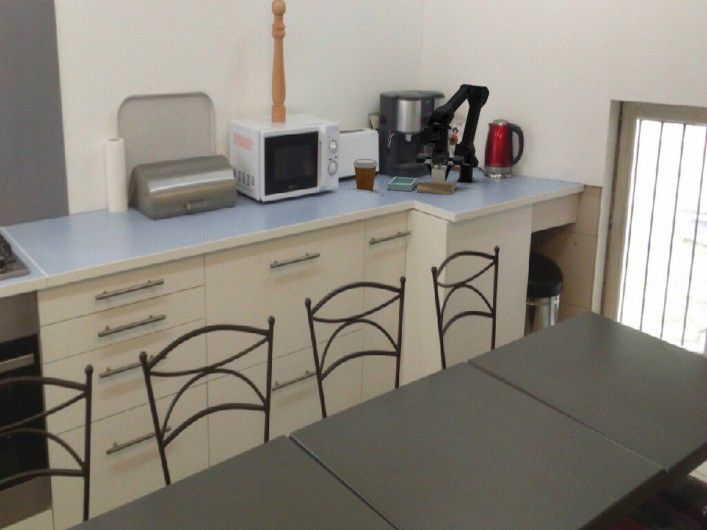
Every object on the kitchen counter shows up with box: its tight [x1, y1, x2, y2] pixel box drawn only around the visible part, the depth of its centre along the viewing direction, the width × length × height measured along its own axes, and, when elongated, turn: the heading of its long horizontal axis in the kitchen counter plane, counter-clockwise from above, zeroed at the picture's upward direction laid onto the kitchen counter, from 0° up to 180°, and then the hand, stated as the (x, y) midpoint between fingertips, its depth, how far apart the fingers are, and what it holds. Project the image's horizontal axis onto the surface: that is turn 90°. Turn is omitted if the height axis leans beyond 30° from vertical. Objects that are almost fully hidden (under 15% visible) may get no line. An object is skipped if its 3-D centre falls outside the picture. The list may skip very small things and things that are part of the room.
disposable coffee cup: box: [352, 158, 379, 193], centre depth 298 cm, size 10×10×12 cm
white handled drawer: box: [430, 163, 448, 183], centre depth 306 cm, size 9×5×10 cm, turn 166°
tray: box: [387, 176, 419, 192], centre depth 307 cm, size 14×10×2 cm
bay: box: [416, 181, 456, 195], centre depth 301 cm, size 11×14×4 cm
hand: (439, 180), depth 306 cm, fingers closed on white handled drawer, 5 cm apart
